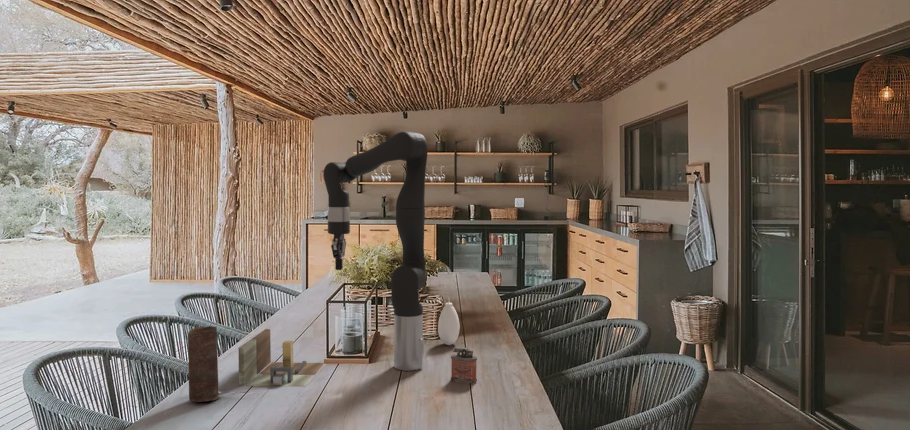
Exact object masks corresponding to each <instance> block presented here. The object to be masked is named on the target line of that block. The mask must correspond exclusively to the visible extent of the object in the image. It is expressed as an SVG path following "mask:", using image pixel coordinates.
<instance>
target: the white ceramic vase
mask: <svg viewBox="0 0 910 430" xmlns="http://www.w3.org/2000/svg"><path fill="white" fill-rule="evenodd" d="M438 318H439V319H438V325H437V331H438V337H439V339H440V341H441V342H442V343H443V344H444V345H446V346H451V345H453V344H454V343H455V342H457V340H458V338H459V334H460V330H461V329H460V319H459V315H458V313H457V311H456V308H455V307H454V305H453V303H452V302H451V300H450V297H448V301H447V302H446V303H445V305H444V306H443V308H442V310H441V313H440V316H439V317H438Z"/></svg>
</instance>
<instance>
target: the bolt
mask: <svg viewBox="0 0 910 430" xmlns="http://www.w3.org/2000/svg"><path fill="white" fill-rule="evenodd" d="M282 362H283V366H293V363H294V341H293V340H284V341H283V342H282ZM287 379H288V378H287V372H278V373H277V374H276V375H275V376H274V377H273V385H282V384H283V383H284V382H285V381H286V380H287Z"/></svg>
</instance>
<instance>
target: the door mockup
mask: <svg viewBox="0 0 910 430" xmlns="http://www.w3.org/2000/svg"><path fill="white" fill-rule="evenodd" d="M271 345H272V344H271V328H265V329H263V330H262V331H261V332H260V333H258V334H257V335H255V336H253V337H252V338H251V339H249V340H248V341H246V342H245V343H244V344H242V345H241V346H239V347H238V385H239V387H240V386H242V387H243V386H249V387H307V385H308V383H310V381H311V380H312V379H313V378H314V376H315V375H316V374H317V373H318V372H319V370H320V369H321V368H322V367H323V366H324V364H325V362H306V366H305V367H304V368H303V369H302V370H301V371H300V372H299V373H298V374H295V369H296V368H297V367H298V366H299V365H300V364H301V363H302V362H293V381H292V382H291V383H288V379H287V380H286V381H285V382H284V383H283V384H282V385H273V382H270V368H271V367H272V366H283V361H281V362H278V361H277V362H274V361H273V362H271V360H272V359H271V357H272V356H271V352H272V351H271V347H272V346H271ZM277 373H278V372H277V371H276V374H277Z"/></svg>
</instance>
